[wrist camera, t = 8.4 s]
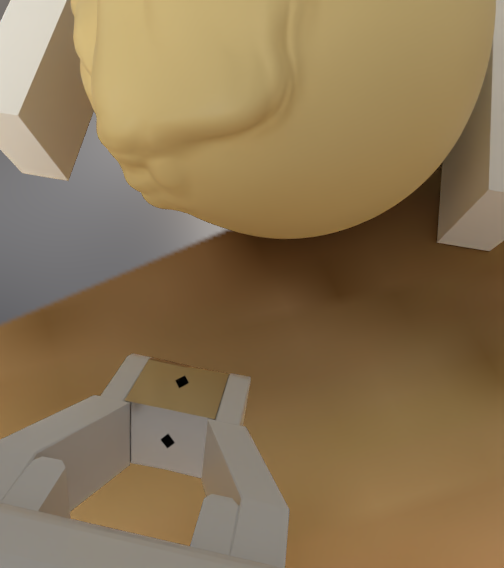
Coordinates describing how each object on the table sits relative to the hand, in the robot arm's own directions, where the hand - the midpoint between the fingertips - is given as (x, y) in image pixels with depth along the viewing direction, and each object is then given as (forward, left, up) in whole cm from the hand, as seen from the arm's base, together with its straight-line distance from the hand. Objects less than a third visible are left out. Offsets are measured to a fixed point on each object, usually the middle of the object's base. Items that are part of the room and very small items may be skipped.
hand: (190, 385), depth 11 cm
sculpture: (0, -11, -5) cm, 12 cm away
